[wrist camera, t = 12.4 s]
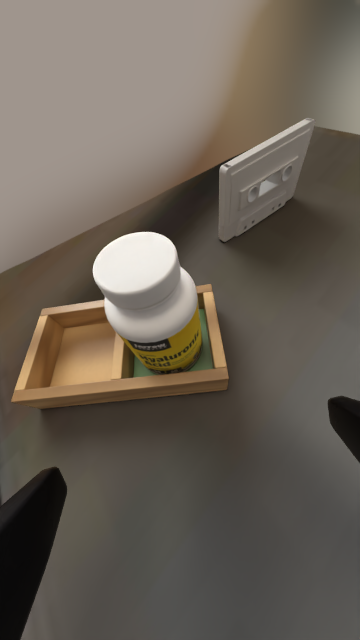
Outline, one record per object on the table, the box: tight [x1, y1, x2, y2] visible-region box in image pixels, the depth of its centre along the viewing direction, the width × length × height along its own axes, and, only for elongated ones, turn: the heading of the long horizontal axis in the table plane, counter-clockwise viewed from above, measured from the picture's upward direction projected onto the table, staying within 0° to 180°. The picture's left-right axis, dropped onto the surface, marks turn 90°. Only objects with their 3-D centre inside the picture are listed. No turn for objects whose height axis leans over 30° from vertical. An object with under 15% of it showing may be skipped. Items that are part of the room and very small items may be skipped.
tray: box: [11, 284, 229, 409], centre depth 18 cm, size 8×15×3 cm, turn 94°
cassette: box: [219, 118, 315, 242], centre depth 23 cm, size 12×2×8 cm, turn 127°
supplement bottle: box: [93, 232, 202, 375], centre depth 14 cm, size 5×5×10 cm
